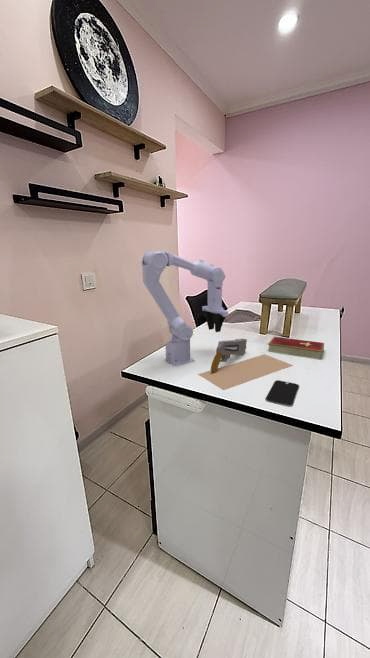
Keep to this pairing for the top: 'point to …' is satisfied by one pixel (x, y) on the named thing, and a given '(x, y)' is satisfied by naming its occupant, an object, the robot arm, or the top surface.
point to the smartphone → (282, 393)
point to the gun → (228, 351)
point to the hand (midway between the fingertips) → (214, 330)
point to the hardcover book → (296, 347)
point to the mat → (244, 371)
